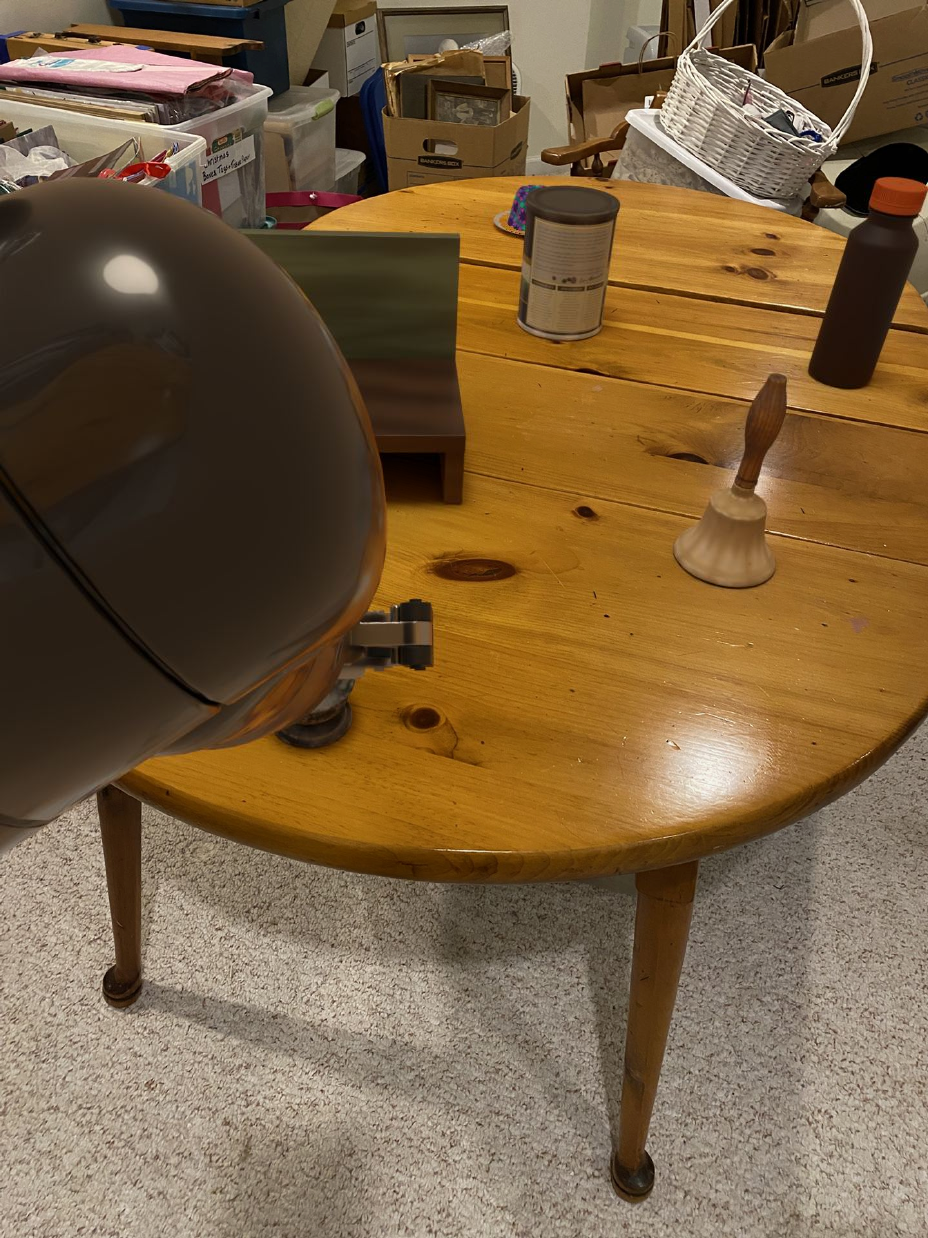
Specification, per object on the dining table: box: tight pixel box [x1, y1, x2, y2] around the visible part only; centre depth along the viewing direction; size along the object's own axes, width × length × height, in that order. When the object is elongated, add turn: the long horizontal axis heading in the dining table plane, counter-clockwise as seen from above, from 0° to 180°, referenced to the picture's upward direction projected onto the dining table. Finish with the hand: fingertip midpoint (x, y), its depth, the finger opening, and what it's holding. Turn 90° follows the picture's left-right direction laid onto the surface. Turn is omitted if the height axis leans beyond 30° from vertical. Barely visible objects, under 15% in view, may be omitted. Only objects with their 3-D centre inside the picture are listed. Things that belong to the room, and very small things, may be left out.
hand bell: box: [672, 372, 788, 588], centre depth 71 cm, size 8×8×16 cm
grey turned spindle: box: [274, 679, 356, 749], centre depth 56 cm, size 6×6×12 cm
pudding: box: [493, 184, 547, 236], centre depth 134 cm, size 12×12×5 cm
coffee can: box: [516, 184, 621, 342], centre depth 105 cm, size 10×10×14 cm
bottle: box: [807, 176, 928, 389], centre depth 96 cm, size 7×7×20 cm
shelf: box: [236, 228, 467, 505], centre depth 79 cm, size 15×20×18 cm
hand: (283, 646), depth 45 cm, fingers open, 8 cm apart
